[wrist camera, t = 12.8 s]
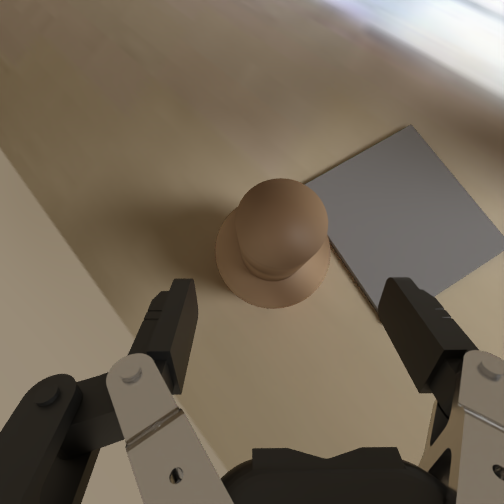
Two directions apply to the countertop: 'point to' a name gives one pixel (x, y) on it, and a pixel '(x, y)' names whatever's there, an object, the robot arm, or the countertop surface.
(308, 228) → the walnut lid
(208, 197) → the countertop surface
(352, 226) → the rubber mat
